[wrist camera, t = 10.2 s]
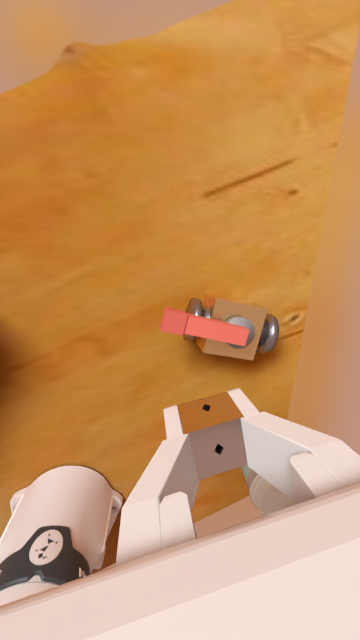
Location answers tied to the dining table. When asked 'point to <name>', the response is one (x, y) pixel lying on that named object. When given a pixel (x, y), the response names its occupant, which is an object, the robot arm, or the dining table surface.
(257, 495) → the coffee cup
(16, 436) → the dining table surface
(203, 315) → the valve
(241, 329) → the lever
